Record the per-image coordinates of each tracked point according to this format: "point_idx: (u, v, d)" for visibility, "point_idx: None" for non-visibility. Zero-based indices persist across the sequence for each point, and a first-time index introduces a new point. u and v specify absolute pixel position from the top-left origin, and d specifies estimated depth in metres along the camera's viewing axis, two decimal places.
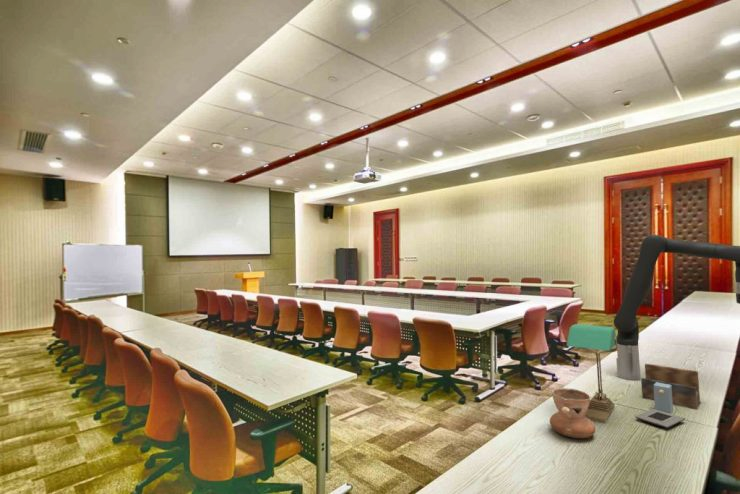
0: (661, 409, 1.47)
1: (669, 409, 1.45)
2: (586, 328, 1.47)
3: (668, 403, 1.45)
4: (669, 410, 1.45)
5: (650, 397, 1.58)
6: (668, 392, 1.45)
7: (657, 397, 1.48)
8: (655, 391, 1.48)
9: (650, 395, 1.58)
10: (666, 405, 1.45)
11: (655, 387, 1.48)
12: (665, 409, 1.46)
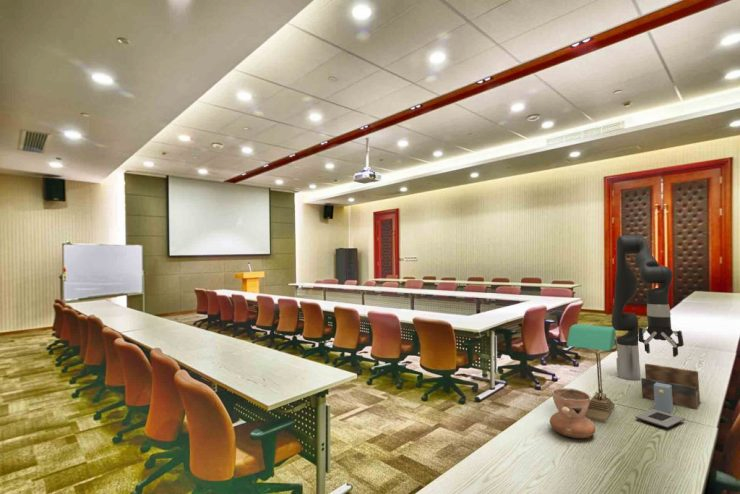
0: (661, 409, 1.47)
1: (669, 409, 1.45)
2: (586, 328, 1.47)
3: (668, 403, 1.45)
4: (669, 410, 1.45)
5: (650, 397, 1.58)
6: (668, 392, 1.45)
7: (657, 397, 1.48)
8: (655, 391, 1.48)
9: (650, 395, 1.58)
10: (666, 405, 1.45)
11: (655, 387, 1.48)
12: (665, 409, 1.46)
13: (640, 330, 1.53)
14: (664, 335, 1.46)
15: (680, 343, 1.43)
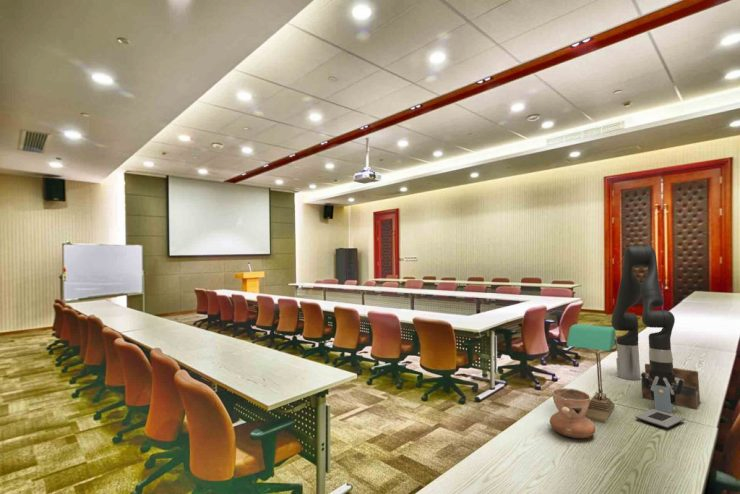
0: (661, 409, 1.47)
1: (669, 409, 1.45)
2: (586, 328, 1.47)
3: (668, 403, 1.45)
4: (669, 410, 1.45)
5: (650, 397, 1.58)
6: (668, 392, 1.45)
7: (656, 397, 1.48)
8: (655, 391, 1.48)
9: (650, 395, 1.58)
10: (666, 405, 1.45)
11: (655, 387, 1.48)
12: (665, 409, 1.46)
13: (643, 376, 1.52)
14: (665, 381, 1.46)
15: (677, 391, 1.44)
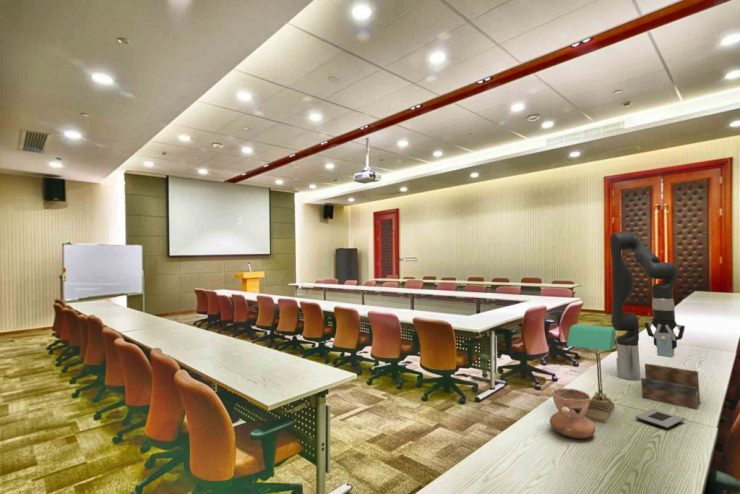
0: (663, 354, 1.56)
1: (670, 354, 1.54)
2: (586, 328, 1.47)
3: (669, 348, 1.54)
4: (670, 355, 1.54)
5: (650, 397, 1.58)
6: (670, 338, 1.54)
7: (659, 344, 1.57)
8: (657, 338, 1.58)
9: (650, 395, 1.58)
10: (668, 350, 1.55)
11: (657, 334, 1.57)
12: (666, 354, 1.55)
13: (646, 325, 1.62)
14: (667, 328, 1.55)
15: (679, 336, 1.53)
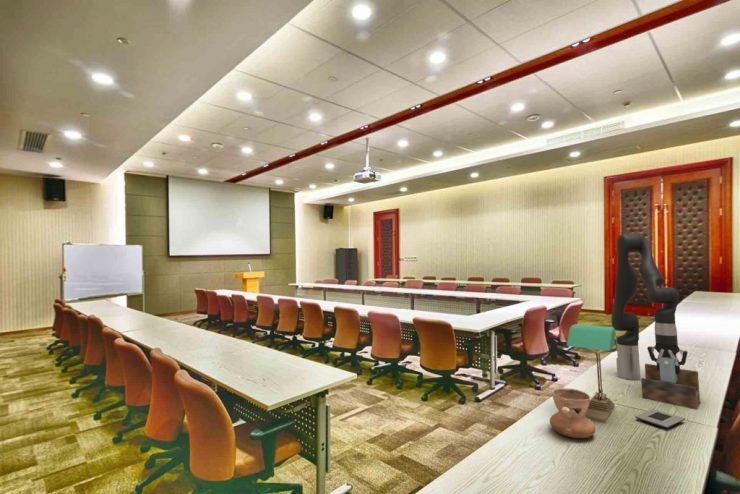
0: (666, 379, 1.56)
1: (674, 379, 1.54)
2: (586, 328, 1.47)
3: (673, 373, 1.54)
4: (674, 380, 1.54)
5: (650, 397, 1.58)
6: (673, 363, 1.54)
7: (662, 368, 1.57)
8: (660, 363, 1.57)
9: (650, 395, 1.58)
10: (671, 375, 1.55)
11: (660, 359, 1.57)
12: (670, 379, 1.55)
13: (649, 349, 1.62)
14: (670, 353, 1.55)
15: (682, 362, 1.53)
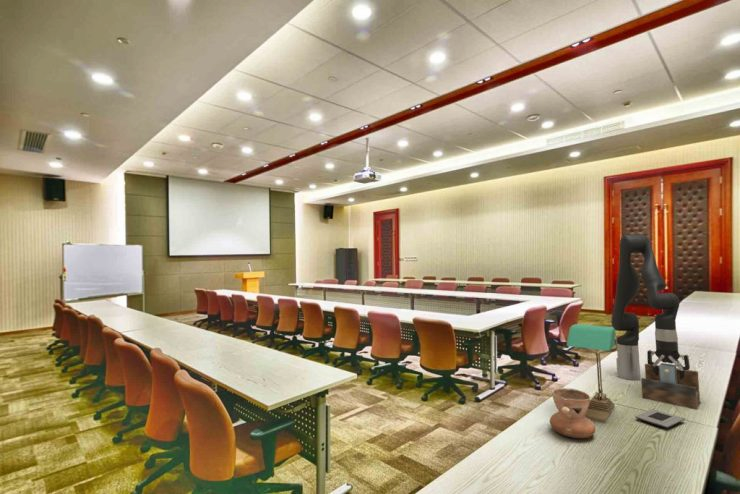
0: None
1: None
2: (586, 328, 1.47)
3: (673, 382, 1.54)
4: None
5: (650, 397, 1.58)
6: (673, 371, 1.54)
7: (662, 377, 1.57)
8: (661, 371, 1.57)
9: (650, 395, 1.58)
10: None
11: (661, 367, 1.57)
12: None
13: (649, 353, 1.62)
14: (671, 358, 1.55)
15: (686, 367, 1.52)
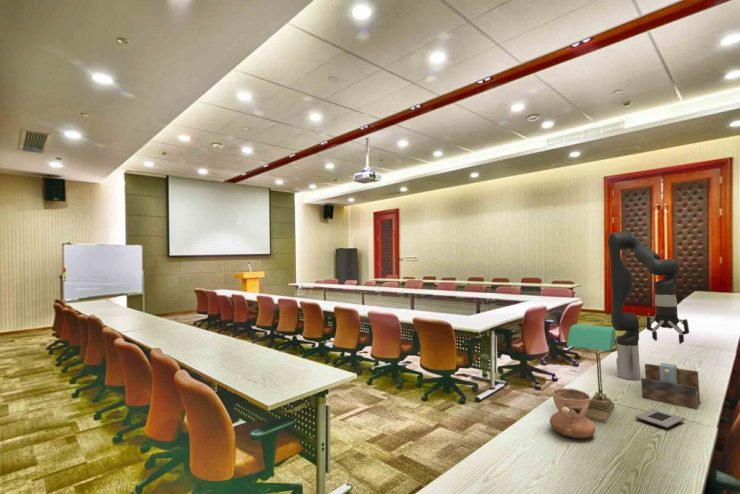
0: None
1: None
2: (586, 328, 1.47)
3: (673, 382, 1.54)
4: None
5: (650, 397, 1.58)
6: (673, 371, 1.54)
7: (662, 377, 1.57)
8: (661, 371, 1.57)
9: (650, 395, 1.58)
10: None
11: (661, 367, 1.57)
12: None
13: (648, 319, 1.63)
14: (671, 323, 1.57)
15: (686, 331, 1.53)
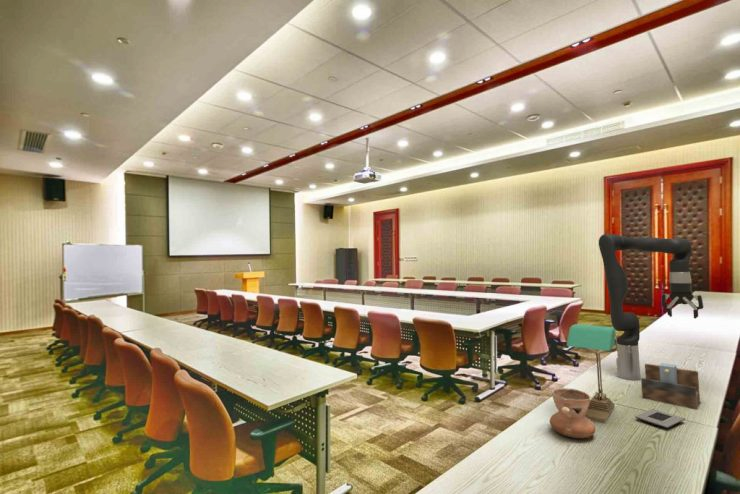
0: None
1: None
2: (586, 328, 1.47)
3: (673, 382, 1.54)
4: None
5: (650, 397, 1.58)
6: (673, 371, 1.54)
7: (662, 377, 1.57)
8: (661, 371, 1.57)
9: (650, 395, 1.58)
10: None
11: (661, 367, 1.57)
12: None
13: (663, 296, 1.70)
14: (685, 299, 1.63)
15: (700, 306, 1.60)
